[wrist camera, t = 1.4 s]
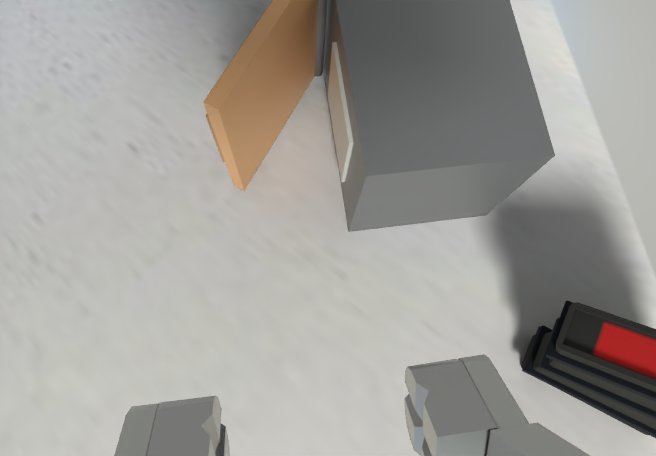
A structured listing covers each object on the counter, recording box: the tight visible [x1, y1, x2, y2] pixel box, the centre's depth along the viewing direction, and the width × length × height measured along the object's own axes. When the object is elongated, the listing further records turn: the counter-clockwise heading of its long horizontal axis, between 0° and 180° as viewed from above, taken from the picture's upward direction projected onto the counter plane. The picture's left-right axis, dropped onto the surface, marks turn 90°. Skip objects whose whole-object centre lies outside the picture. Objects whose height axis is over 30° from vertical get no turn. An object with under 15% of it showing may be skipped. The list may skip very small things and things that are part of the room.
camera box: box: [323, 0, 555, 232], centre depth 38 cm, size 12×18×12 cm
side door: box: [203, 0, 327, 191], centre depth 36 cm, size 2×14×13 cm, turn 153°
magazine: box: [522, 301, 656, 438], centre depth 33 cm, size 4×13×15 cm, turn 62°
